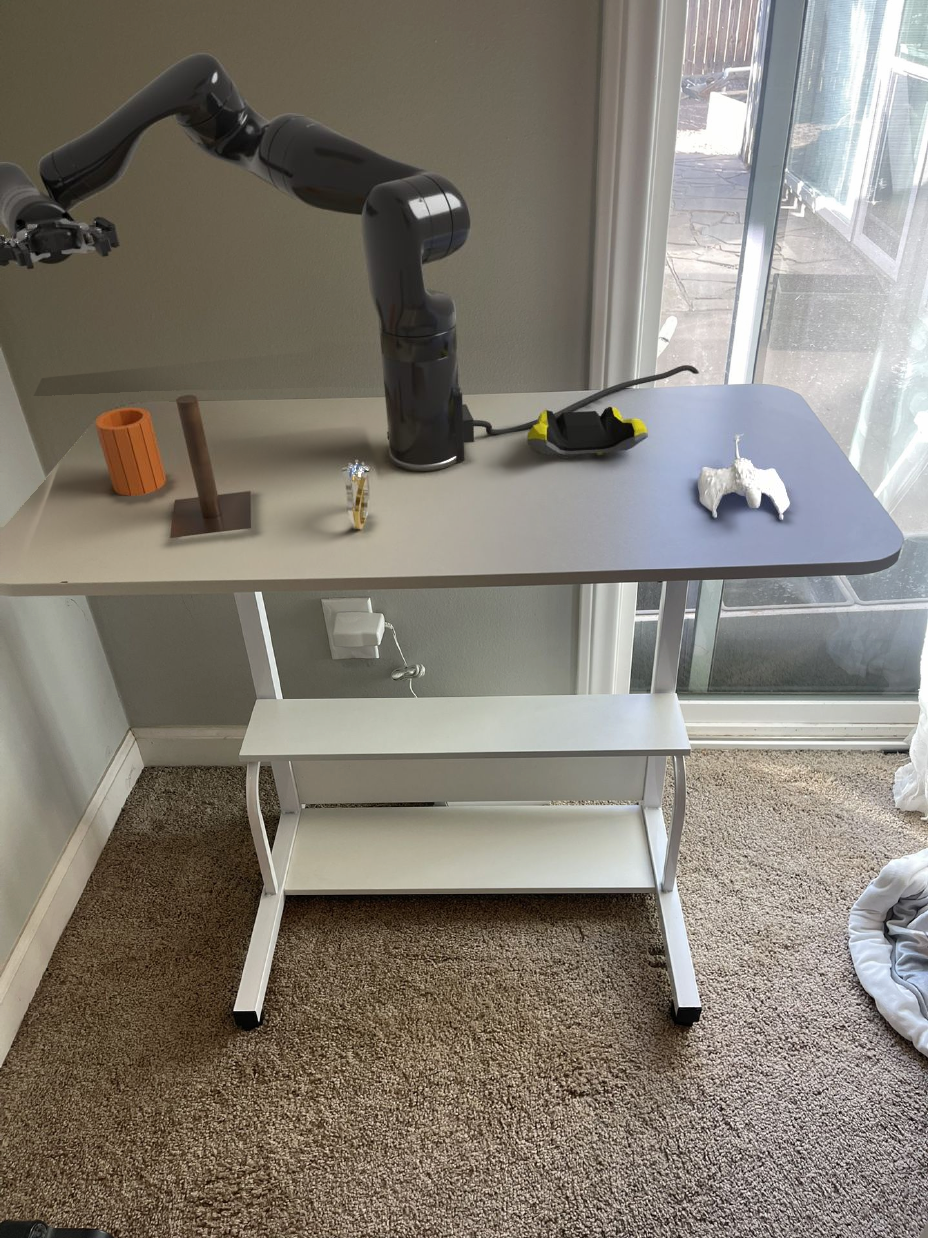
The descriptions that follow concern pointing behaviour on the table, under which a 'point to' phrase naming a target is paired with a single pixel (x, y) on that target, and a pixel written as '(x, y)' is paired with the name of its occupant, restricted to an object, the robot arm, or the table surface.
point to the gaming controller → (585, 433)
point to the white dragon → (741, 484)
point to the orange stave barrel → (131, 451)
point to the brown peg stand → (205, 485)
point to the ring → (362, 496)
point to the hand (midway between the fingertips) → (66, 253)
